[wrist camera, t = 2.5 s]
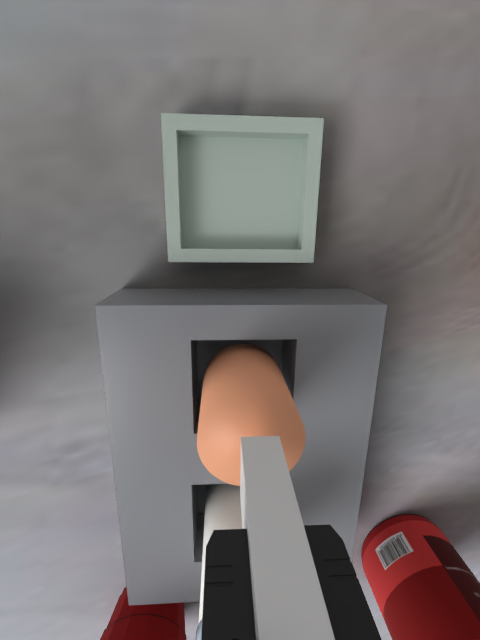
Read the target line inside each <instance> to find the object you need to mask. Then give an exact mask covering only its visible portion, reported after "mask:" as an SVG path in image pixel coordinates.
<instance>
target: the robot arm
mask: <svg viewBox="0 0 480 640" xmlns="http://www.w3.org/2000/svg"><path fill="white" fill-rule="evenodd" d="M240 500H241V515H242V529H226V530H214V531H213V533H212V535H211V537H210V539H209V541H208V543H207V546H206V556H205V576H204V596H203V615H202V635H201V640H381V637H380V635H379V632H378V630H377V627H376V624H375V622H374V619H373V617H372V614H371V611H370V609H369V606H368V604H367V601H366V598H365V596H364V593H363V591H362V588H361V586H360V583H359V580H358V579H357V577H356V573H355V570H354V567H353V565H352V562H350V557H349V554H348V552H347V549H346V547H345V544H344V542H343V539H342V538H341V537H340V536H339V535H338V533H337V532H336V531H335V530H334V529H333V527H332V526H331V525H330V524H328V525H304V524H303V521H302V517H301V514H300V510H299V506H298V503H297V499H296V495H295V492H294V488H293V484H292V481H291V477H290V473H289V470H288V466H287V462H286V459H285V455H284V451H283V448H282V444H281V440H280V437H279V436H250V437H241V464H240Z"/></svg>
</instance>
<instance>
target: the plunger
mask: <svg viewBox="0 0 480 640" xmlns="http://www.w3.org/2000/svg"><path fill="white" fill-rule="evenodd" d="M250 436H279V437H280V440H281V444H282V448H283V451H284V455H285V459H286V462H287V466H288V470H289V471H290V470H291V469H292V468H293V467H294V466H295V465H296V464H297V462H298V461H299V459H300V457H301V455H302V453H303V450H304V447H305V428H304V425H303V422H302V420H301V417H300V415H299V413H298V410H297V408H296V406H295V403H294V401H293V398H292V396H291V394H290V391H289V389H288V387H287V384H286V382H285V380H284V377H283V375H282V373H281V370H280V368H279V366H278V364H277V362H276V360H275V359H274V357H273V356H272V355H271V354H270V353H269V352H267V351H266V350H264V349H263V348H260V347H258V346H255V345H251V344H236V345H232V346H229V347H226V348H224V349H222V350H221V351H219V352H218V353H217V354H215V355H214V356H213V357H212V359H211V360H210V361H209V363H208V365H207V367H206V369H205V372H204V378H203V387H202V396H201V405H200V414H199V423H198V432H197V450H198V454H199V457H200V459H201V461H202V463H203V465H204V466H205V467H206V469H207V470H208V471H209V472H210V473H211V474H212V475H213V476H215V477H216V478H218V479H220V480H221V481H223V482H226V483H228V484H231V485H235V486H240V464H241V437H250Z"/></svg>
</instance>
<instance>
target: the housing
mask: <svg viewBox="0 0 480 640" xmlns="http://www.w3.org/2000/svg"><path fill="white" fill-rule="evenodd" d="M386 311H387V304H385V303H383V302H380V301H378V300H376V299H374V298H372V297H370V296H367V295H365V294H363V293H361V292H359V291H357V290H354V289H121V290H119V291H117V292H116V293H114V294H112V295H111V296H109V297H108V298H106V299H104V300H103V301H101V302H100V303H98V304H96V305H95V314H96V322H97V331H98V340H99V349H100V358H101V366H102V375H103V384H104V393H105V401H106V410H107V419H108V428H109V437H110V445H111V454H112V463H113V472H114V480H115V489H116V498H117V507H118V516H119V524H120V533H121V542H122V551H123V559H124V568H125V577H126V586H127V594H128V603H129V605H146V604H164V603H181V602H199V601H200V591H201V573H202V555H203V536H204V518H205V500H206V484H228V483H226V482H223V481H221V480H220V479H218V478H216V477H215V476H213V475H212V474H211V473H210V472H209V471H208V470H207V469H206V467H205V466H204V465H203V463H202V461H201V459H200V457H199V454H198V450H197V432H198V423H199V414H200V405H201V396H202V387H203V378H204V372H205V369H206V367H207V365H208V363H209V361H210V360H211V359H212V357H213V356H214V355H215V354H217V353H218V352H219V351H221V350H222V349H224V348H226V347H229V346H232V345H236V344H251V345H255V346H258V347H260V348H263V349H264V350H266V351H267V352H269V353H270V354H271V355H272V356H273V357H274V359H275V360H276V362H277V364H278V366H279V368H280V370H281V373H282V375H283V377H284V380H285V382H286V384H287V387H288V389H289V391H290V394H291V396H292V398H293V401H294V403H295V406H296V408H297V410H298V413H299V415H300V417H301V420H302V422H303V425H304V428H305V447H304V450H303V453H302V455H301V457H300V459H299V461H298V462H297V464H296V465H295V466H294V467H293V468H292V469H291V470H290V471H289V473H290V477H291V481H292V484H293V488H294V492H295V495H296V499H297V503H298V506H299V510H300V514H301V517H302V521H303V524H304V525H328V524H330V525H331V526H332V527H333V529H334V530H335V531H336V532H337V533H338V535H339V536H340V537H341V538H342V539H343V542H344V544H345V547H346V549H347V552H348V554H349V557H350V562H352V559H353V552H354V544H355V537H356V530H357V522H358V515H359V508H360V501H361V493H362V486H363V479H364V471H365V464H366V457H367V450H368V442H369V435H370V428H371V420H372V413H373V406H374V399H375V391H376V384H377V377H378V369H379V362H380V355H381V348H382V340H383V333H384V326H385V318H386Z"/></svg>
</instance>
